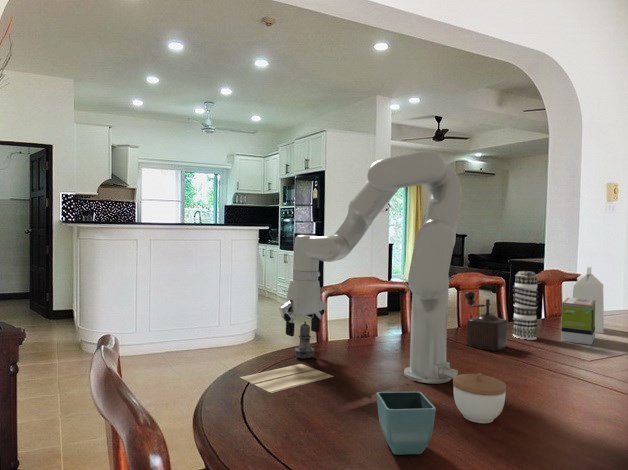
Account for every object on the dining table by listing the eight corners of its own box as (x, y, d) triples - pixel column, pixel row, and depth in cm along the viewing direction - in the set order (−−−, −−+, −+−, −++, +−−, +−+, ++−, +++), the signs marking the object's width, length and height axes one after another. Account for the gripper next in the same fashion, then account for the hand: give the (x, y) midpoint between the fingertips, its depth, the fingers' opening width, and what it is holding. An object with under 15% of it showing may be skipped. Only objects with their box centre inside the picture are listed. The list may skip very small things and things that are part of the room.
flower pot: (374, 438, 88) (375, 391, 87) (419, 437, 88) (420, 390, 88) (385, 461, 79) (386, 409, 79) (435, 460, 80) (437, 408, 79)
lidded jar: (476, 431, 91) (478, 384, 91) (441, 411, 101) (442, 369, 101) (516, 423, 96) (518, 378, 96) (479, 405, 105) (480, 364, 105)
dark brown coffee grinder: (508, 346, 161) (509, 295, 160) (496, 352, 152) (497, 298, 152) (465, 338, 171) (467, 290, 171) (452, 343, 163) (453, 292, 163)
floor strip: (315, 373, 125) (315, 369, 125) (253, 389, 112) (253, 383, 112) (300, 367, 130) (300, 363, 130) (239, 382, 117) (239, 377, 117)
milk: (603, 333, 185) (605, 269, 184) (570, 329, 191) (572, 267, 191) (603, 328, 195) (605, 267, 194) (572, 324, 201) (574, 265, 201)
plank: (333, 380, 120) (333, 376, 120) (270, 397, 107) (270, 392, 107) (316, 373, 125) (316, 369, 125) (254, 388, 112) (254, 384, 112)
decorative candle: (508, 333, 180) (510, 270, 180) (533, 335, 179) (535, 271, 179) (515, 339, 171) (517, 272, 171) (541, 340, 170) (543, 273, 169)
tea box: (566, 334, 183) (567, 296, 182) (595, 338, 177) (596, 299, 176) (560, 341, 170) (561, 301, 170) (591, 345, 164) (593, 304, 164)
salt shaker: (311, 364, 133) (312, 323, 133) (292, 363, 135) (293, 322, 134) (315, 359, 139) (316, 319, 139) (297, 357, 140) (297, 318, 140)
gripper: (319, 273, 145) (316, 327, 145) (274, 275, 134) (271, 334, 134) (335, 276, 139) (332, 332, 140) (290, 279, 128) (287, 340, 128)
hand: (302, 333), depth 137 cm, fingers open, 9 cm apart
